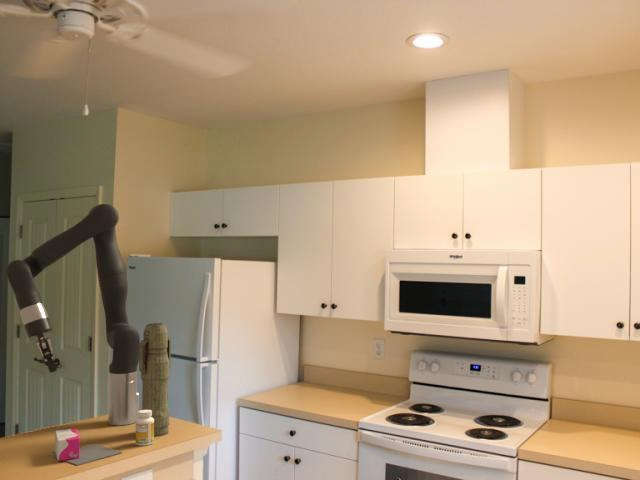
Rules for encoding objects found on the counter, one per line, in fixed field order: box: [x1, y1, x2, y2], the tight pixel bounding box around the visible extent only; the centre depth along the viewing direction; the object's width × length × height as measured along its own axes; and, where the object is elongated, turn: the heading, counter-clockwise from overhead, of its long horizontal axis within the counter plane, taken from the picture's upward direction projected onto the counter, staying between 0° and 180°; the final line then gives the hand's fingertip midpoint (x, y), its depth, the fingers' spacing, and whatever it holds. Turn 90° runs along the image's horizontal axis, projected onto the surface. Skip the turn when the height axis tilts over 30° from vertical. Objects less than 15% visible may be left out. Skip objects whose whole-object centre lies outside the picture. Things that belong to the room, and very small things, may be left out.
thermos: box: [138, 322, 172, 438], centre depth 200 cm, size 9×12×35 cm
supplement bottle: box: [135, 409, 155, 447], centre depth 189 cm, size 5×5×10 cm
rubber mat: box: [49, 443, 123, 466], centre depth 177 cm, size 14×14×1 cm
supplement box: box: [54, 428, 81, 461], centre depth 177 cm, size 6×6×12 cm
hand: (53, 371), depth 197 cm, fingers closed
